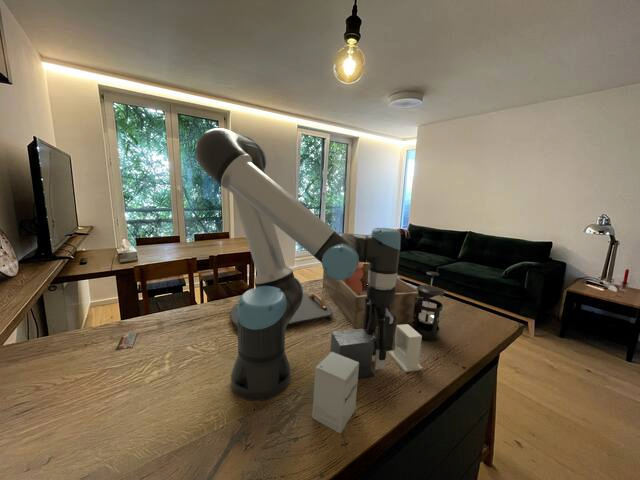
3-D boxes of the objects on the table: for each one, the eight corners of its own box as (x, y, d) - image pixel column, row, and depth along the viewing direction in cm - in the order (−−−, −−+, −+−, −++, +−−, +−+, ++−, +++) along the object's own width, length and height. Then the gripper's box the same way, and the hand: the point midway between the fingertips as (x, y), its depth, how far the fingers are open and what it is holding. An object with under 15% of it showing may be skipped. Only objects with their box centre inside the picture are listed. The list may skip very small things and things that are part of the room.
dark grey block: (336, 382, 71) (338, 348, 69) (326, 361, 80) (328, 330, 78) (374, 376, 74) (377, 343, 72) (361, 357, 83) (363, 326, 81)
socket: (405, 372, 77) (409, 339, 75) (389, 353, 85) (392, 323, 83) (422, 369, 78) (426, 337, 76) (404, 351, 87) (408, 322, 85)
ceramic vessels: (414, 317, 111) (419, 273, 107) (372, 327, 101) (377, 278, 98) (363, 287, 141) (365, 252, 138) (327, 293, 132) (329, 255, 128)
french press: (446, 340, 94) (455, 277, 90) (423, 344, 92) (431, 278, 87) (424, 324, 105) (431, 266, 101) (403, 326, 103) (409, 267, 98)
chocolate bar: (122, 334, 89) (122, 332, 89) (140, 332, 91) (139, 330, 91) (113, 353, 79) (113, 351, 79) (133, 350, 81) (133, 348, 81)
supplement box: (341, 435, 56) (345, 381, 54) (311, 418, 60) (313, 366, 58) (356, 411, 62) (360, 361, 60) (328, 397, 66) (331, 350, 64)
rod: (342, 363, 73) (343, 346, 72) (335, 352, 78) (336, 335, 77) (395, 356, 77) (397, 339, 76) (386, 346, 82) (387, 330, 81)
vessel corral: (353, 327, 100) (356, 297, 98) (322, 287, 139) (323, 264, 137) (418, 321, 107) (422, 292, 105) (371, 284, 146) (373, 263, 144)
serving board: (237, 342, 88) (237, 324, 87) (225, 312, 108) (225, 297, 107) (339, 319, 106) (340, 305, 105) (313, 297, 126) (313, 285, 125)
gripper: (413, 297, 67) (403, 381, 71) (378, 274, 84) (372, 342, 88) (385, 299, 65) (377, 385, 69) (355, 275, 82) (350, 345, 86)
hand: (374, 361), depth 79 cm, fingers closed on rod, 5 cm apart
